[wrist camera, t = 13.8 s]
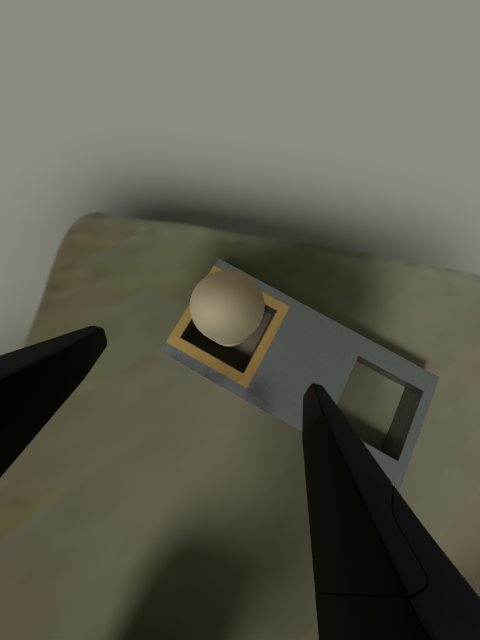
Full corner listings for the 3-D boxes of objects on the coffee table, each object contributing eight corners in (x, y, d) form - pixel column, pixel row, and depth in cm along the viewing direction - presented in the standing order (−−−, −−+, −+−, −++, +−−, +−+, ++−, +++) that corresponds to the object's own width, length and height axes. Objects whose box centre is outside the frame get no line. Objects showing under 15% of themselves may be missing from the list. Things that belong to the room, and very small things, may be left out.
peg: (240, 353, 21) (247, 354, 11) (203, 337, 21) (177, 324, 11) (256, 316, 22) (275, 286, 12) (219, 301, 22) (208, 259, 12)
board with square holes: (419, 374, 21) (441, 377, 19) (382, 474, 19) (401, 490, 17) (219, 266, 22) (218, 257, 20) (167, 351, 21) (160, 351, 18)
